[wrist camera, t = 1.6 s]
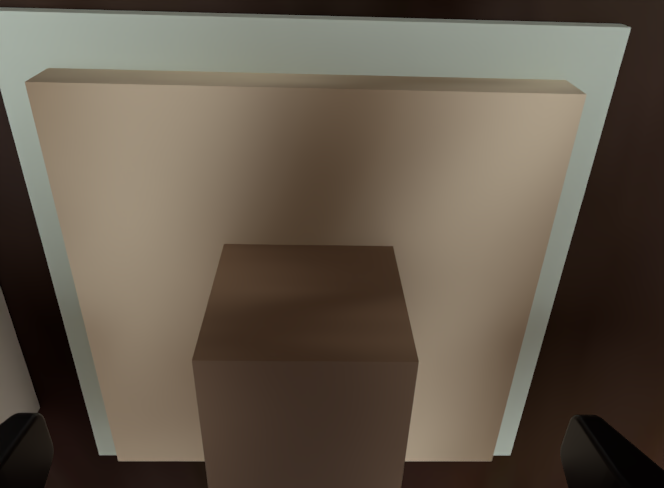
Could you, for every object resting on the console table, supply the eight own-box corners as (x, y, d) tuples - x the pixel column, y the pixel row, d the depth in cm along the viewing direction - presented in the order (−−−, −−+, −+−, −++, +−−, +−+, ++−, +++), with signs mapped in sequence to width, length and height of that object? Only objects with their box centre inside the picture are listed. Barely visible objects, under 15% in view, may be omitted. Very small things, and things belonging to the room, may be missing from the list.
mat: (621, 23, 11) (631, 27, 11) (506, 444, 17) (510, 455, 17) (-11, 6, 11) (-21, 10, 10) (103, 443, 17) (99, 455, 16)
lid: (565, 79, 11) (698, 172, 7) (482, 431, 16) (534, 596, 12) (48, 67, 11) (-103, 157, 7) (128, 431, 16) (68, 599, 12)
